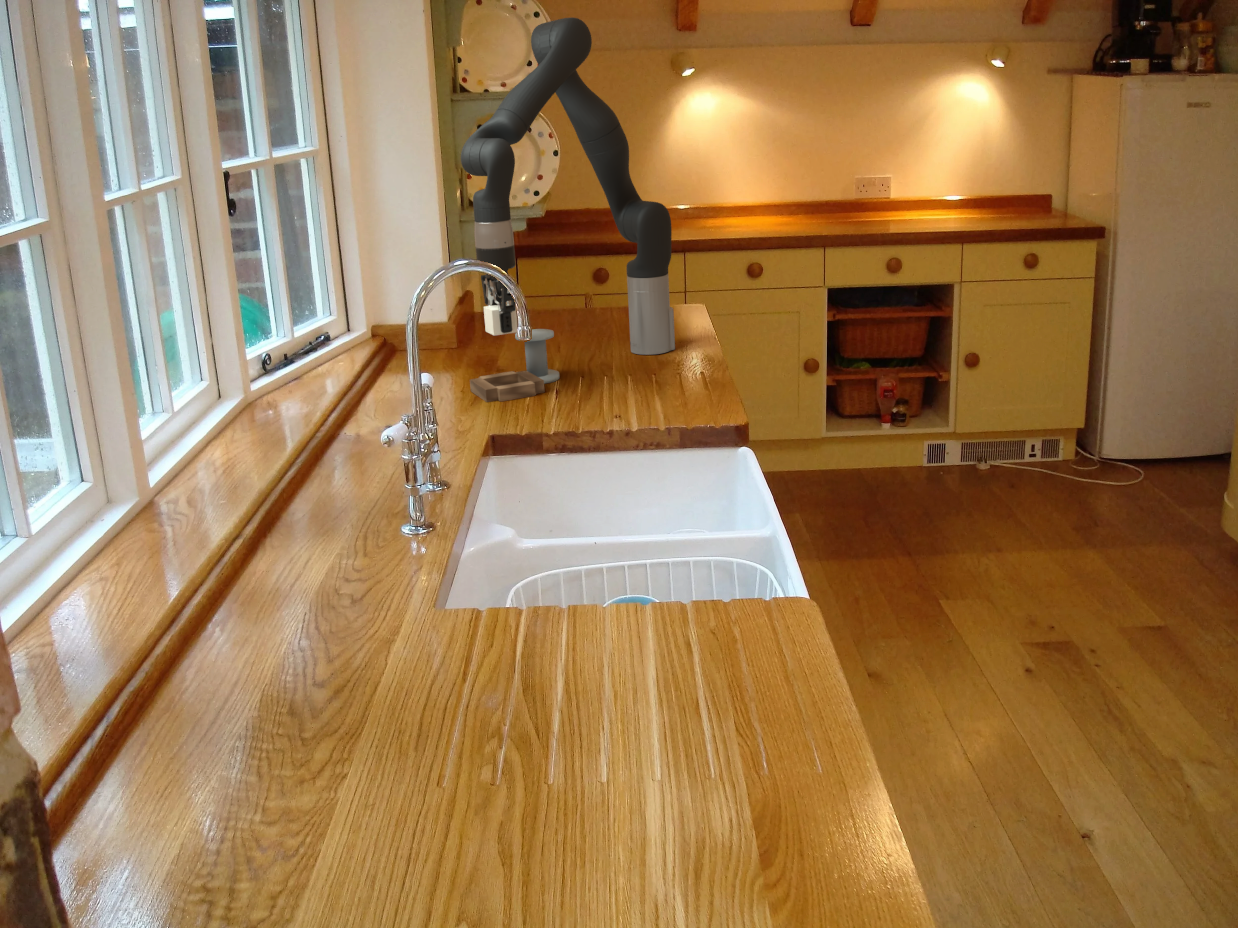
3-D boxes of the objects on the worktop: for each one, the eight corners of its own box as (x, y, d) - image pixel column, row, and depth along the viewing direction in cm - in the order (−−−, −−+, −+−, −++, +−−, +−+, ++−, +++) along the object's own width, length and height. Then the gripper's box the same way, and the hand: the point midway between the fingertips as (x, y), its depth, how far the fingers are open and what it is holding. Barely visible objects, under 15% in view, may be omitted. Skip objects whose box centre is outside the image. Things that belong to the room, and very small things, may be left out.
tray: (525, 381, 254) (524, 369, 253) (546, 393, 243) (545, 381, 242) (468, 390, 249) (467, 378, 248) (488, 403, 239) (487, 391, 238)
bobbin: (549, 371, 261) (546, 326, 257) (566, 380, 253) (562, 333, 250) (510, 378, 257) (506, 332, 254) (525, 386, 249) (521, 340, 246)
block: (509, 328, 245) (507, 303, 244) (517, 332, 241) (515, 307, 240) (485, 331, 243) (483, 306, 242) (493, 335, 239) (491, 310, 238)
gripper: (525, 246, 232) (532, 333, 237) (500, 238, 245) (507, 321, 250) (488, 250, 229) (496, 338, 235) (464, 242, 242) (472, 326, 247)
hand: (501, 329), depth 242 cm, fingers closed on block, 5 cm apart
